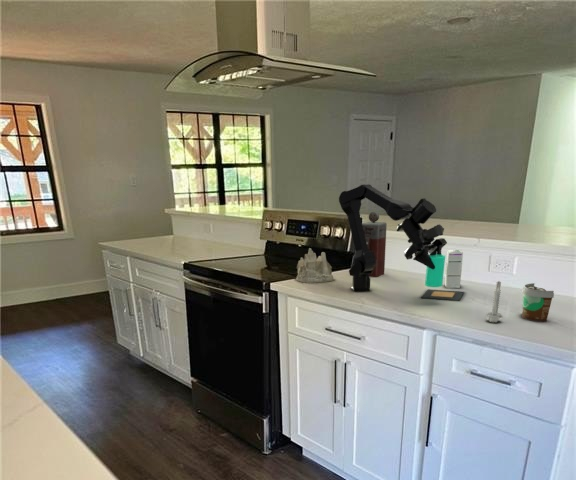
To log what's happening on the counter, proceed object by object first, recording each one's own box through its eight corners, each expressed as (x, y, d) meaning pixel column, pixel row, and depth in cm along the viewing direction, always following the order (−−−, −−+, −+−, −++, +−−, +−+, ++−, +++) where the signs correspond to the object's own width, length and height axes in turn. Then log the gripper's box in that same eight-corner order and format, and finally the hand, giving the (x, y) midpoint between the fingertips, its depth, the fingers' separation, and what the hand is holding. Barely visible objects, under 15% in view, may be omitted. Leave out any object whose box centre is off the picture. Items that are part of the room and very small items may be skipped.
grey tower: (460, 288, 206) (464, 251, 200) (445, 288, 207) (448, 251, 201) (458, 285, 211) (462, 249, 205) (444, 285, 212) (447, 249, 206)
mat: (421, 298, 192) (421, 296, 192) (427, 290, 204) (428, 289, 204) (459, 300, 187) (459, 299, 187) (464, 292, 198) (464, 291, 198)
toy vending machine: (356, 276, 234) (358, 212, 223) (367, 272, 242) (369, 210, 231) (374, 278, 229) (376, 213, 218) (384, 273, 237) (387, 211, 226)
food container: (511, 313, 170) (515, 283, 166) (528, 312, 170) (533, 282, 166) (530, 323, 158) (535, 292, 154) (549, 322, 159) (554, 291, 155)
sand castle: (336, 281, 224) (334, 246, 219) (299, 284, 222) (297, 249, 217) (328, 276, 239) (326, 244, 234) (294, 280, 237) (291, 247, 232)
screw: (482, 321, 162) (490, 318, 165) (496, 324, 158) (504, 321, 161) (487, 281, 157) (495, 278, 160) (502, 283, 153) (510, 280, 156)
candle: (442, 283, 184) (445, 250, 179) (442, 287, 179) (445, 253, 174) (425, 283, 185) (428, 249, 181) (424, 286, 180) (427, 252, 175)
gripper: (414, 219, 170) (439, 256, 167) (445, 215, 181) (469, 249, 178) (393, 241, 178) (417, 276, 175) (424, 235, 190) (447, 269, 186)
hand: (438, 267), depth 178 cm, fingers closed on candle, 5 cm apart
